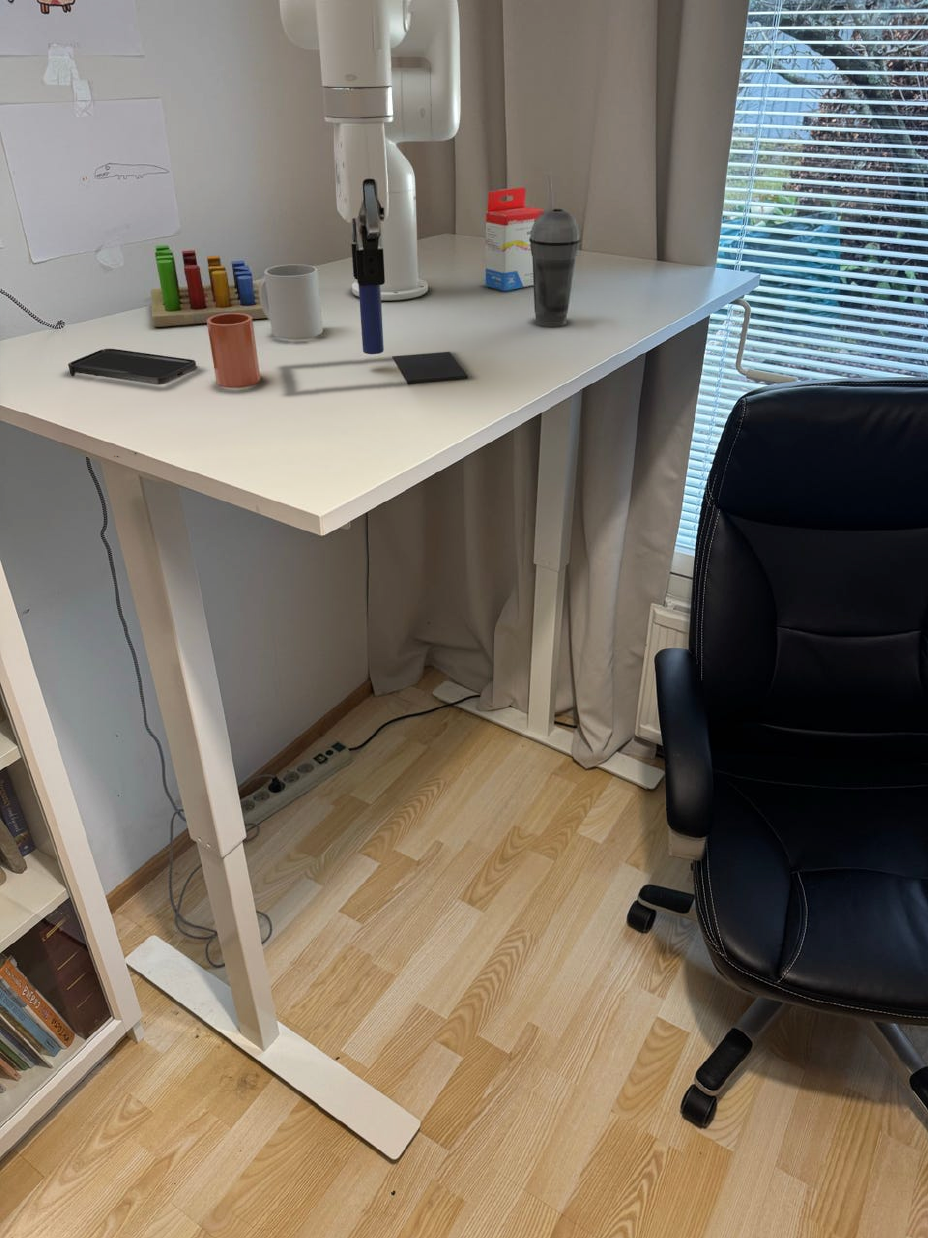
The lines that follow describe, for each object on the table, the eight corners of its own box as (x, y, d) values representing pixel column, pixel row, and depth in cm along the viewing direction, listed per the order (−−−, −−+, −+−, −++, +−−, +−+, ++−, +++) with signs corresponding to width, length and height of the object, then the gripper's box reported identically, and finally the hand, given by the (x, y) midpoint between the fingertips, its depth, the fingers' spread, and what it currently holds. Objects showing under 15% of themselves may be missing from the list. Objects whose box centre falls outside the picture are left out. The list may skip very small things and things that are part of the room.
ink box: (503, 292, 147) (505, 194, 139) (484, 286, 151) (485, 191, 142) (541, 284, 152) (545, 189, 144) (522, 278, 155) (524, 185, 147)
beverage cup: (572, 330, 129) (582, 177, 118) (522, 328, 130) (527, 176, 119) (577, 317, 135) (587, 170, 124) (529, 314, 136) (535, 169, 125)
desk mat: (284, 367, 116) (284, 364, 115) (449, 354, 120) (449, 351, 120) (291, 393, 108) (291, 390, 107) (467, 378, 112) (467, 375, 112)
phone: (105, 347, 119) (199, 360, 114) (107, 356, 120) (200, 368, 115) (63, 365, 113) (160, 379, 108) (65, 374, 114) (161, 388, 109)
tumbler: (217, 379, 112) (206, 314, 108) (259, 375, 113) (251, 311, 109) (217, 393, 108) (206, 326, 103) (262, 389, 109) (253, 323, 104)
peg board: (273, 318, 135) (266, 258, 130) (154, 328, 131) (142, 267, 126) (260, 290, 149) (253, 235, 144) (152, 299, 145) (141, 243, 140)
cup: (299, 346, 123) (292, 278, 118) (247, 334, 128) (238, 269, 123) (333, 333, 128) (328, 268, 123) (282, 322, 133) (275, 259, 128)
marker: (361, 349, 113) (353, 233, 105) (381, 347, 113) (375, 232, 106) (364, 355, 111) (356, 238, 103) (385, 353, 111) (379, 236, 104)
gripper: (316, 101, 103) (330, 268, 113) (333, 112, 90) (347, 300, 100) (380, 100, 105) (388, 265, 115) (406, 110, 91) (412, 295, 102)
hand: (369, 280), depth 107 cm, fingers closed on marker, 2 cm apart
